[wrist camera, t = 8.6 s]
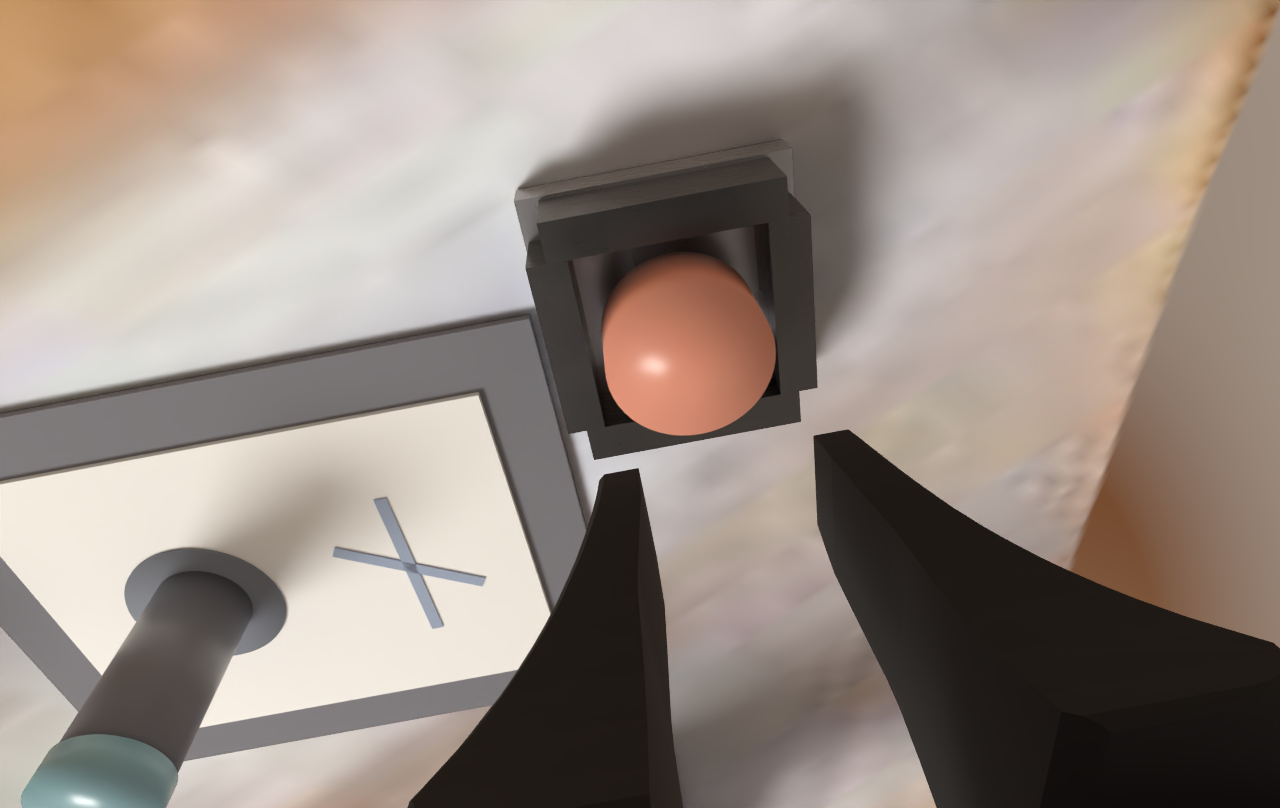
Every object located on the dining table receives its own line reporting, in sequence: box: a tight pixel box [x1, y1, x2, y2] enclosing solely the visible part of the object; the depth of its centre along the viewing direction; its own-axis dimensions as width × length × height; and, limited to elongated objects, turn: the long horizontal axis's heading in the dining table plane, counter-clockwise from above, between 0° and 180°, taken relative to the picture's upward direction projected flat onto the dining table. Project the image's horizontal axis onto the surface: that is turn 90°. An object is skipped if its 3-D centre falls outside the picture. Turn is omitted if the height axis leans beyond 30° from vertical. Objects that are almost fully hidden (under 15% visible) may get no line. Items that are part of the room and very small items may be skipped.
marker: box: [21, 571, 253, 808], centre depth 22 cm, size 3×3×7 cm
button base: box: [514, 140, 817, 460], centre depth 20 cm, size 7×7×3 cm
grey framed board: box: [0, 314, 587, 761], centre depth 25 cm, size 16×20×1 cm
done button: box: [601, 252, 776, 436], centre depth 18 cm, size 4×4×2 cm
